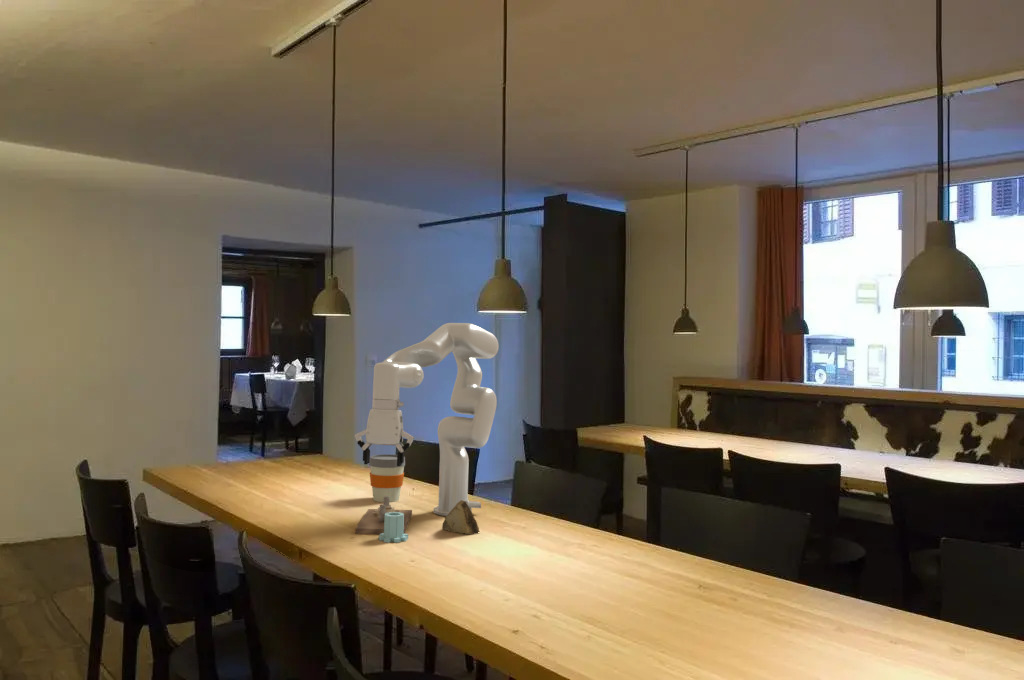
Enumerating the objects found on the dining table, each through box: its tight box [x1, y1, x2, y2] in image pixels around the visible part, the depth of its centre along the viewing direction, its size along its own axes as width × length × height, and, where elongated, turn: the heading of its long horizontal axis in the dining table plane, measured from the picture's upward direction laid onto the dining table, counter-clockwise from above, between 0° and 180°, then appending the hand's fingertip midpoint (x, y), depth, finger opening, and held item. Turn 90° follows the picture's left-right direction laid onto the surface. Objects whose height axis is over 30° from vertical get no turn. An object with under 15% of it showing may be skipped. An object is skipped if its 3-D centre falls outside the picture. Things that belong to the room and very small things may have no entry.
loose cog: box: [378, 512, 409, 544], centre depth 209 cm, size 8×8×7 cm
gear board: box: [354, 497, 413, 535], centre depth 226 cm, size 14×25×7 cm, turn 3°
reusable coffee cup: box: [368, 453, 406, 503], centre depth 261 cm, size 13×12×15 cm
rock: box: [441, 500, 481, 535], centre depth 220 cm, size 11×9×10 cm
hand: (383, 464), depth 213 cm, fingers open, 9 cm apart
